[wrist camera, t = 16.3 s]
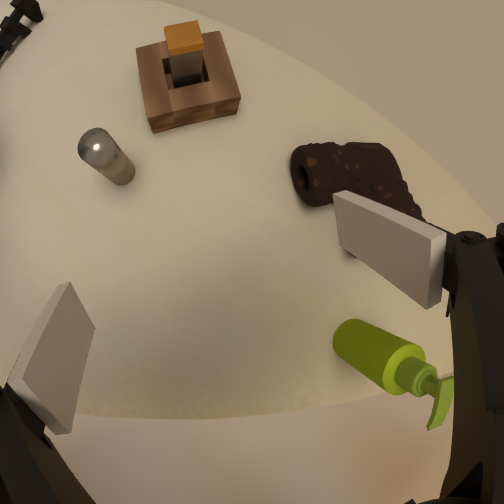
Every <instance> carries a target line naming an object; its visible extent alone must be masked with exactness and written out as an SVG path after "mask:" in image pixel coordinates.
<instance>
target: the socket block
mask: <svg viewBox="0 0 504 504" xmlns="http://www.w3.org/2000/svg"><path fill="white" fill-rule="evenodd" d="M201 35H202V38H203V42H204V49H203V59H202V83H198V84H193V85H189V86H184V87H180V88H176V89H173V84H172V79H171V73H170V66H169V59H168V52H167V44H166V41H163V42H159V43H155V44H151V45H147V46H143V47H140V48H136V55H137V62H138V68H139V75H140V81H141V87H142V93H143V99H144V104H145V110H146V115H147V119H148V122H149V124H150V127H151V129H152V132H153V134H154V133H157V132H161V131H165V130H168V129H172V128H176V127H180V126H184V125H188V124H192V123H196V122H201V121H205V120H210V119H214V118H219V117H224V116H229V115H234V114H236V113H237V109H238V106H239V102H240V99H241V95H240V92H239V89H238V86H237V82H236V79H235V76H234V73H233V70H232V67H231V63H230V60H229V57H228V54H227V51H226V48H225V45H224V42H223V39H222V36H221V33H220V31H215V32H209V33H203V34H201Z"/></svg>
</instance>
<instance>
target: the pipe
mask: <svg viewBox="0 0 504 504" xmlns="http://www.w3.org/2000/svg"><path fill="white" fill-rule="evenodd" d="M291 173H292V178H293V182H294V185H295V188H296V190H297V192H298V194H299V195H300V197H301V198H302V199H303V201H304V202H305V203H307V204H308V205H310V206H313V207H314V206H321V205H326V204H328V203H333V202H334V201H333V195H332V194H334V193H338V192H341V191H344V190H347V191H349V192H352V193H355V194H357V195H360V196H362V197H365V198H367V199H370V200H372V201H375V202H377V203H380V204H382V205H385V206H387V207H390V208H392V209H394V210H397V211H399V212H401V213H404V214H406V215H408V216H411V217H416V218H420V219H422V220H424V221H426V220H425V219H424V218H423V217H422V211H421V208H420V206H419V205H417V204H416V203H415V202H414V200H413V196H412V194H410V193H409V191H408V186H407V183H406V182H405V181H404V180H403V179H402V175H401V171H400V168H399V166H398V164H397V162H396V160H395V158H394V156H393V154H392V153H391V151H390V150H388V149H387V148H386V147H384V146H383V145H381V144H380V143H359V142H348V143H346V144H345V145H344V146H339V145H338V144H335V143H334V142H326V143H322V144H320V143H315V144H312V143H310V144H308V145H301V146H299V147H298V148H296V149H295V150H294V151H293V153H292V156H291ZM354 257H355V258H357V257H356V256H354Z"/></svg>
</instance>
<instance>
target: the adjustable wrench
mask: <svg viewBox="0 0 504 504" xmlns="http://www.w3.org/2000/svg"><path fill="white" fill-rule="evenodd" d="M10 5H11V6H13V7H14V8H15V9H14V11H13V12H12V14H11V15H10V17H7V16H5V18H4V19H3V21H2V23H1V24H0V28H1V31H0V60H1V58H2V56H3V55H4V53H5V52H6V51H7V50H8V51H10V50H11V48H12V46H13V45H12V43H13V42H14V41H15V40H16V39H17V38H18V37H19V36H20V35H29V34H30V33H31V32H32V30H30V29H29V28H27V27H26V26H24V25H23V24H22V23H20V22H19V21H20V19H21V18H22V16H23V15H25V16H26V17H28V18H29V19H30V20H32V21H36V22H41V21H42V20H43V16H42V13H41V10H40V7H39V3H38V2H37V1H36V0H13V1H12V2H11V3H10Z"/></svg>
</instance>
